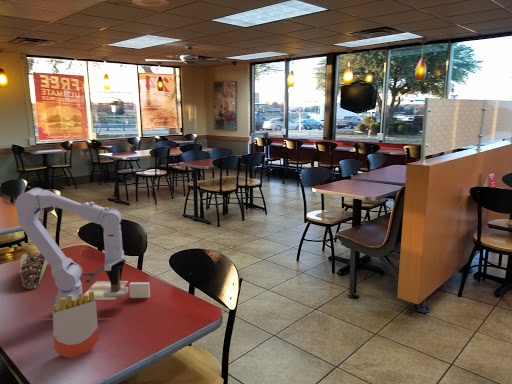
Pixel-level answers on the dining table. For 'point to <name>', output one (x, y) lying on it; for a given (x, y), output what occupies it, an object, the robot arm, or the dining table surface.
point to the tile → (139, 289)
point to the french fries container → (75, 325)
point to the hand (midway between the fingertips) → (116, 282)
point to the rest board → (102, 289)
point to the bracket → (93, 274)
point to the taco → (32, 269)
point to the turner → (116, 290)
